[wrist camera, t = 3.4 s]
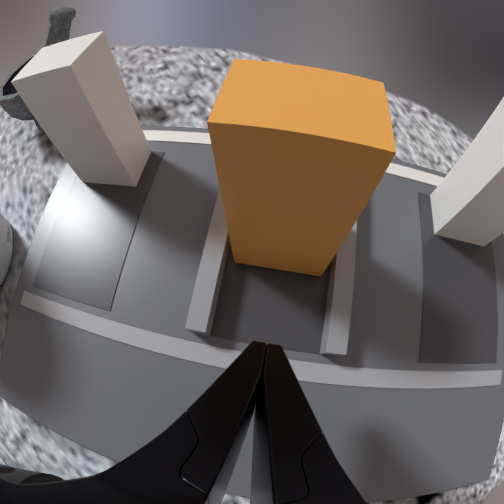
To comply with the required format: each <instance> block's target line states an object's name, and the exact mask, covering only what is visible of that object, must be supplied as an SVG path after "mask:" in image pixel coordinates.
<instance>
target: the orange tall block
mask: <svg viewBox="0 0 504 504" xmlns="http://www.w3.org/2000/svg"><path fill="white" fill-rule="evenodd" d="M207 124H208V129H209V135H210V140H211V145H212V151H213V156H214V161H215V166H216V172H217V177H218V182H219V187H220V192H221V197H222V203H223V208H224V213H225V218H226V223H227V228H228V233H229V237H230V242H231V247H232V252H233V257H234V262H235V263H241V264H247V265H253V266H259V267H265V268H271V269H278V270H284V271H290V272H296V273H302V274H309V275H315V276H321V275H322V274H323V272H324V271H325V269H326V268H327V266H328V265H329V263H330V262H331V260H332V259H333V257H334V256H335V254H336V253H337V251H338V249H339V248H340V246H341V245H342V243H343V242H344V240H345V238H346V237H347V235H348V234H349V232H350V230H351V229H352V227H353V226H354V224H355V222H356V221H357V219H358V218H359V216H360V214H361V213H362V211H363V209H364V208H365V206H366V204H367V203H368V201H369V199H370V198H371V196H372V194H373V193H374V191H375V189H376V187H377V186H378V184H379V182H380V180H381V179H382V177H383V175H384V173H385V172H386V170H387V168H388V166H389V165H390V163H391V161H392V159H393V157H394V156H395V154H396V148H395V141H394V135H393V129H392V123H391V117H390V112H389V106H388V101H387V97H386V92H385V87H384V84H383V83H382V82H379V81H375V80H371V79H367V78H363V77H359V76H354V75H350V74H345V73H340V72H336V71H330V70H325V69H319V68H314V67H307V66H301V65H293V64H286V63H277V62H267V61H256V60H242V59H234V61H233V63H232V65H231V67H230V69H229V72H228V74H227V76H226V78H225V81H224V83H223V85H222V88H221V90H220V92H219V95H218V97H217V99H216V102H215V104H214V107H213V109H212V111H211V114H210V116H209V119H208V121H207Z"/></svg>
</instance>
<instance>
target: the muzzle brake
mask: <svg viewBox="0 0 504 504" xmlns="http://www.w3.org/2000/svg"><path fill="white" fill-rule="evenodd" d="M0 477H1V478H2V479H4V480H6V481H9V482H11V483H17V484H37V483H48V482H56V481H64V479H62V478H60V477H58V476H55V475H52V474H46V473H39V472H34V471H28V470H23V469H18V468H13V467H9V466H5V465H1V464H0Z"/></svg>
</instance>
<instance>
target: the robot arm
mask: <svg viewBox="0 0 504 504" xmlns="http://www.w3.org/2000/svg"><path fill="white" fill-rule="evenodd" d="M255 404H256V405H255ZM254 409H255V412H254ZM186 411H187V412H186ZM186 411H185V412H184V413H183V414H181V415H180V416H179V417H178V418H177V419H176V420H175V421H174V422H173V423H172V424H171V425H170V426H169V427H168V428H166V429H165V430H164V431H163V432H162V433H160V434H159V435H158V436H157V437H155V438H154V439H153V440H151V441H150V442H149V443H147V444H146V445H144V446H143V447H141V448H140V449H138V450H137V451H135V452H134V453H133V454H131V455H130V456H128V457H127V458H125V459H124V460H122V461H120V462H119V463H117V464H116V465H114V466H113V467H111V468H109V469H108V470H106V471H104V472H101V473H99V474H96V475H93V476H89V477H84V478H78V479H71V480H64V481H56V482H48V483H37V484H17V483H11V482H9V481H6V480H4V479H2V478H1V477H0V504H221V502H222V499H223V497H224V494H225V492H226V489H227V486H228V484H229V481H230V478H231V476H232V473H233V470H234V468H235V465H236V462H237V460H238V457H239V454H240V451H241V448H242V446H243V443H244V440H245V437H246V434H247V431H248V429H249V426H250V423H251V420H252V416H253V413H254V426H253V449H252V471H251V492H250V504H367V503H366V501H365V500H364V498H363V497H362V496H361V494H360V493H359V491H358V490H357V488H356V487H355V486H354V484H353V483H352V481H351V480H350V478H349V477H348V476H347V474H346V473H345V471H344V469H343V468H342V466H341V465H340V463H339V462H338V460H337V458H336V457H335V455H334V453H333V451H332V449H331V447H330V445H329V443H328V441H327V439H326V437H325V435H324V434H322V432H323V431H322V429H321V427H320V425H319V423H318V421H317V419H316V417H315V415H314V413H313V411H312V408H311V406H310V404H309V402H308V400H307V398H306V396H305V394H304V392H303V390H302V388H301V386H300V383H299V381H298V379H297V377H296V375H295V373H294V371H293V369H292V367H291V365H290V362H289V360H288V358H287V356H286V354H285V352H284V350H283V348H282V346H281V345H277V344H271V343H268V344H267V346H266V343H265V342H259V341H252V342H251V343H250V344H249V345H248V346H247V347H246V348H245V349H244V350H243V352H242V353H241V354H240V355H239V356H238V357H237V358H236V359H235V360H234V361H233V362H232V363H231V364H230V365H229V367H228V368H227V369H226V370H225V371H224V372H223V373H222V374H221V375H220V376H219V377H218V378H217V379H216V380H215V381H214V382H213V383H212V384H211V385H210V386H209V387H208V388H207V389H206V391H205V392H204V393H203V394H202V395H201V396H200V397H199V398H198V399H197V400H196V401H195V402H194V403H193V404H192V405H191V406H190V407H189V408H188V409H187V410H186Z"/></svg>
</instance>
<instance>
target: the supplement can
mask: <svg viewBox="0 0 504 504" xmlns="http://www.w3.org/2000/svg"><path fill="white" fill-rule="evenodd" d="M12 253H13V239H12V230H11V227H10V224H9V221H7V220H6V219H5V218H4V217H3V216H2V215H0V285H1V284H2V282H3V281H4V279H5V277H6V275H7V272H8V269H9V267H10V264H11V258H12Z"/></svg>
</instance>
